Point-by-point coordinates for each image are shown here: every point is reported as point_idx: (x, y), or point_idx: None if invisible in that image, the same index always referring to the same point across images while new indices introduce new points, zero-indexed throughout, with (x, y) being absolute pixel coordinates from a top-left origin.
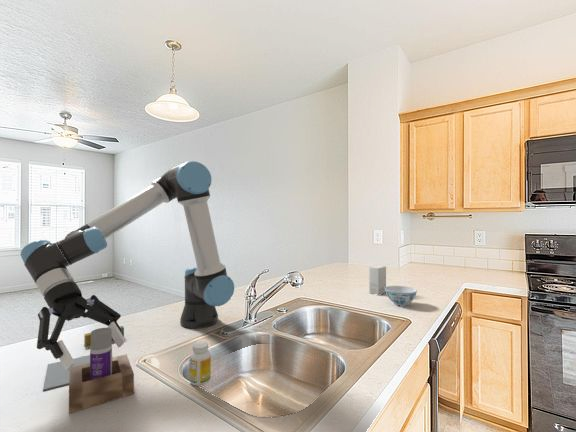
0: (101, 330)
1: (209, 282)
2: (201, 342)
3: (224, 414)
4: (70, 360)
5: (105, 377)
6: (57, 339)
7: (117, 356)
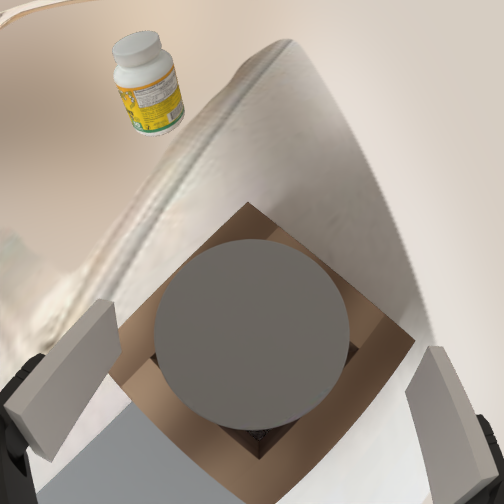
0: (246, 333)
1: None
2: (117, 47)
3: (270, 50)
4: (446, 362)
5: None
6: (498, 492)
7: (119, 383)
